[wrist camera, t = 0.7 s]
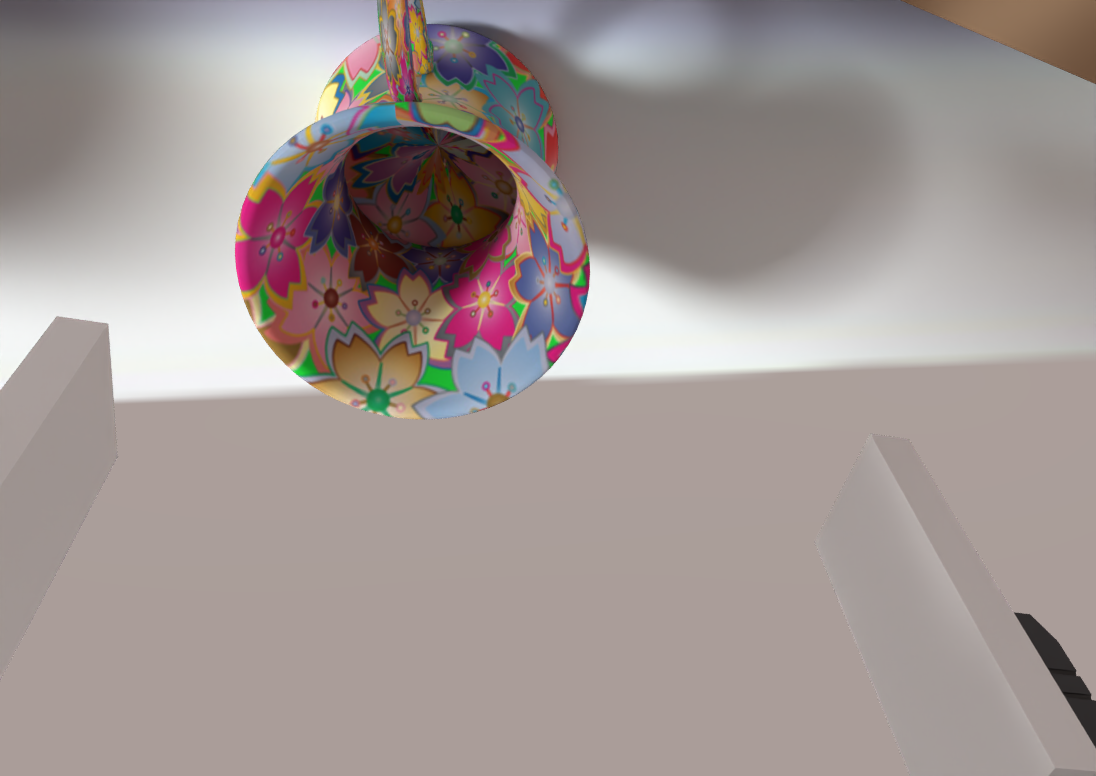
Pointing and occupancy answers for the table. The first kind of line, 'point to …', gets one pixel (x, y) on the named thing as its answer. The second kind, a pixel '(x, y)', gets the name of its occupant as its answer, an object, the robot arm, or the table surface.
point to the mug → (417, 229)
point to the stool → (1030, 28)
